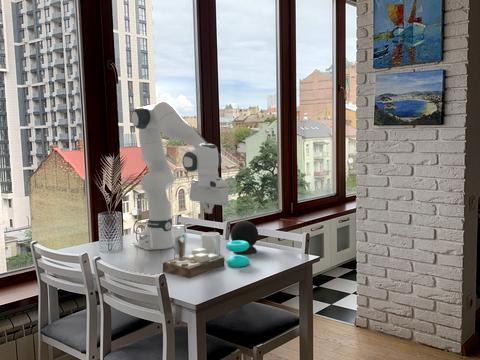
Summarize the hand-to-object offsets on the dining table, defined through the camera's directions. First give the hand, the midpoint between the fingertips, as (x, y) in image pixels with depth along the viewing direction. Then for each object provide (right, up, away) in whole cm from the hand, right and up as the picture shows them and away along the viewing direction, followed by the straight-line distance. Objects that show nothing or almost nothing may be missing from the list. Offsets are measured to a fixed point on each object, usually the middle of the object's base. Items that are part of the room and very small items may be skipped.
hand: (208, 213), depth 217 cm
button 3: (-4, -20, +4) cm, 21 cm away
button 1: (-8, -22, 0) cm, 24 cm away
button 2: (-3, -21, -5) cm, 22 cm away
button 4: (+1, -22, 0) cm, 22 cm away
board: (-6, -24, -3) cm, 24 cm away
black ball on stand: (+16, -20, +23) cm, 35 cm away
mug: (+1, -21, +16) cm, 27 cm away
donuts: (+13, -23, +1) cm, 26 cm away
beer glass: (-14, -22, +15) cm, 30 cm away
